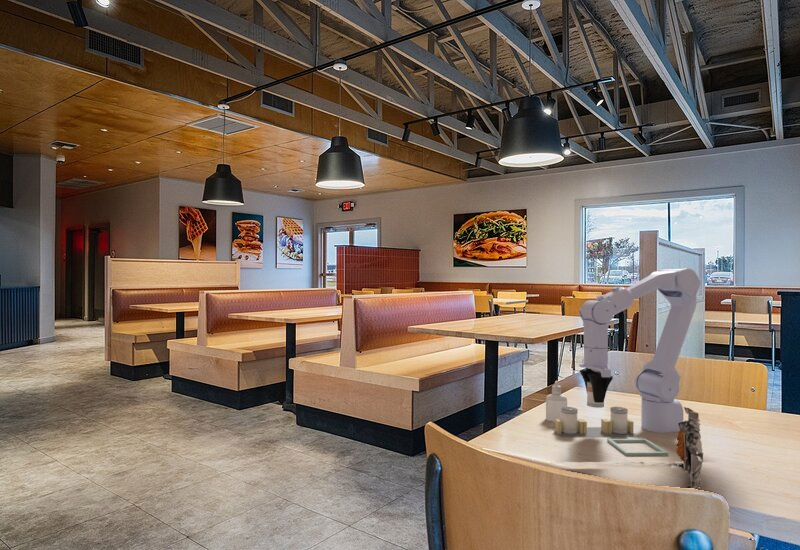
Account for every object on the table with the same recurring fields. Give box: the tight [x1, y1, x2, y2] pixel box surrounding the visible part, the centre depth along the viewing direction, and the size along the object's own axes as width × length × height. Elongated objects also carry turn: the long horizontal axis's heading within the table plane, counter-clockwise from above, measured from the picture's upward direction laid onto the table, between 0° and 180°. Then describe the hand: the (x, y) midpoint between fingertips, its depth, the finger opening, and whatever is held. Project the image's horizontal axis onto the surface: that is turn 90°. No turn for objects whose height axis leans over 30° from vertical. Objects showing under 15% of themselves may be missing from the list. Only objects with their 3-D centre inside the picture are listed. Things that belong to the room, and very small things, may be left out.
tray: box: [606, 438, 669, 457], centre depth 116 cm, size 10×10×2 cm
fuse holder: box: [550, 418, 641, 438], centre depth 128 cm, size 20×8×4 cm, turn 91°
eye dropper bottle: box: [545, 380, 568, 422], centre depth 139 cm, size 4×6×12 cm
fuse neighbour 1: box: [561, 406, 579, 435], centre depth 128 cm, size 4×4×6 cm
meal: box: [675, 406, 704, 489], centre depth 101 cm, size 15×4×13 cm, turn 153°
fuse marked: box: [586, 381, 605, 409], centre depth 127 cm, size 4×4×6 cm
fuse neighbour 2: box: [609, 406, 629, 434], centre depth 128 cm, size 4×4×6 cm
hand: (595, 399), depth 127 cm, fingers closed on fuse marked, 4 cm apart
